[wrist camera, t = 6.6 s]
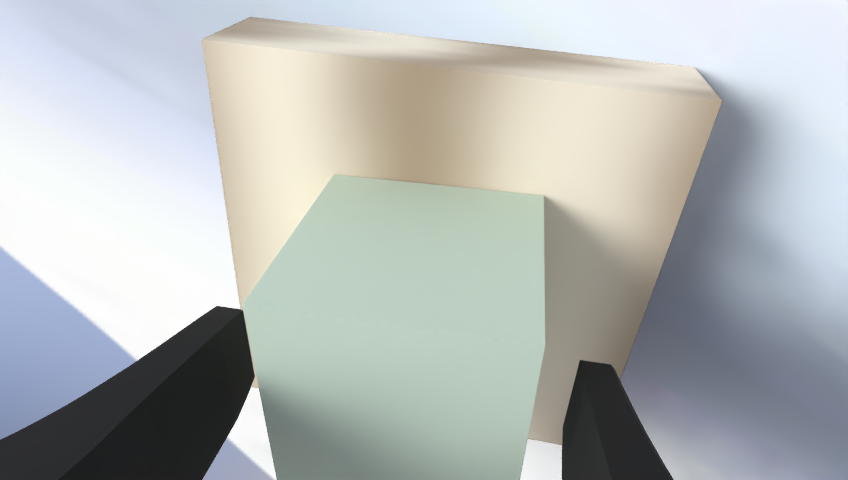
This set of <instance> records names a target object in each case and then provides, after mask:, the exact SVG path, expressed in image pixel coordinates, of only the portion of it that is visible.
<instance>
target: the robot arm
mask: <svg viewBox="0 0 848 480" xmlns="http://www.w3.org/2000/svg"><path fill="white" fill-rule="evenodd" d="M254 378H255V374H254V369H253V363H252V357H251V352H250V346H249V341H248V335H247V329H246V324H245V318H244V312H243V310H240V309H233V308H227V307H220V306H216V307H215V308H213V309H212V310H210V311H209V312H207V313H206V314H204V315H203V316H201V317H200V318H198V319H197V320H196V321H194V322H193V323H191V324H190V325H188V326H187V327H186V328H184V329H183V330H181V331H180V332H178V333H177V334H176V335H174V336H173V337H171V338H170V339H169V340H167V341H166V342H164V343H163V344H161V345H160V346H158V347H157V348H155V349H154V350H152V351H151V352H150V353H148V354H147V355H145V356H144V357H142V358H141V359H139V360H138V361H136V362H135V363H134V364H132V365H130V366H129V367H127V368H126V369H124V370H123V371H121V372H119V373H118V374H116V375H115V376H113V377H112V378H110V379H108V380H107V381H105V382H104V383H102V384H100V385H99V386H98V387H96V388H94V389H92V390H91V391H89V392H88V393H86V394H85V395H83V396H81V397H80V398H78V399H76V400H74V401H73V402H71V403H69V404H68V405H66V406H64V407H62V408H61V409H59V410H57V411H55V412H53V413H52V414H50V415H48V416H46V417H44V418H42V419H41V420H39V421H37V422H35V423H33V424H31V425H29V426H27V427H25V428H23V429H21V430H20V431H18V432H16V433H14V434H12V435H9V436H8V437H5V438H3V439H1V440H0V480H202V479H203V477H204V476H205V474H206V472H207V470H208V469H209V467H210V465H211V464H212V462H213V460H214V459H215V457H216V455H217V453H218V452H219V450H220V448H221V447H222V445H223V443H224V441H225V440H226V438H227V436H228V434H229V433H230V431H231V429H232V427H233V426H234V424H235V422H236V420H237V418H238V416H239V414H240V412H241V409H242V407H243V405H244V402H245V400H246V398H247V395H248V393H249V390H250V388H251V385H252V383H253V381H254ZM562 480H674V479H673V478H672V476H671V475H670V473H669V471H668V470H667V468H666V466H665V465H664V463H663V461H662V459H661V458H660V456H659V454H658V452H657V451H656V449H655V447H654V445H653V444H652V442H651V440H650V438H649V437H648V435H647V433H646V431H645V429H644V428H643V426H642V424H641V422H640V420H639V418H638V416H637V414H636V412H635V410H634V408H633V406H632V404H631V402H630V400H629V398H628V396H627V394H626V392H625V390H624V388H623V386H622V384H621V381H620V379H619V377H618V375H617V373H616V370H615V369H614V368H613V366H612V365H611V364H605V363H598V362H591V361H584V360H580V361H579V365H578V369H577V373H576V377H575V381H574V385H573V389H572V393H571V396H570V400H569V404H568V408H567V412H566V416H565V420H564V424H563V432H562Z"/></svg>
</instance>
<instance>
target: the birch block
mask: <svg viewBox="0 0 848 480" xmlns="http://www.w3.org/2000/svg"><path fill="white" fill-rule="evenodd" d="M202 45H203V52H204V59H205V66H206V73H207V79H208V86H209V93H210V100H211V107H212V114H213V121H214V128H215V135H216V142H217V149H218V156H219V163H220V170H221V177H222V184H223V191H224V198H225V205H226V212H227V219H228V226H229V233H230V240H231V247H232V254H233V261H234V268H235V275H236V282H237V289H238V296H239V303H240V310H243V305H242V304H243V303H244V302H245V300H246V299H247V297H248V296H249V294H250V293H251V292H252V290H253V289H254V287H255V286H256V284H257V283H258V282H259V280H260V279H261V277H262V276H263V274H264V273H265V272H266V270H267V269H268V267H269V266H270V264H271V263H272V262H273V260H274V259H275V257H276V256H277V255H278V253H279V252H280V250H281V249H282V247H283V246H284V245H285V243H286V242H287V240H288V239H289V237H290V236H291V235H292V233H293V232H294V230H295V229H296V227H297V226H298V225H299V223H300V222H301V220H302V219H303V217H304V216H305V215H306V213H307V212H308V210H309V209H310V208H311V206H312V205H313V203H314V202H315V200H316V199H317V198H318V196H319V195H320V193H321V192H322V190H323V189H324V188H325V186H326V185H327V183H328V182H329V180H330V179H331V178H332V176H333V175H334V174H335V175H345V176H354V177H364V178H374V179H384V180H394V181H404V182H414V183H424V184H434V185H444V186H454V187H464V188H474V189H484V190H494V191H504V192H514V193H524V194H534V195H544V269H545V349H544V354H543V360H542V365H541V370H540V375H539V381H538V386H537V391H536V397H535V402H534V407H533V412H532V418H531V423H530V428H529V434H528V439H533V440H538V441H543V442H549V443H554V444H559V445H562V432H563V424H564V420H565V416H566V412H567V408H568V404H569V400H570V396H571V393H572V389H573V385H574V381H575V377H576V373H577V369H578V365H579V361H580V360H584V361H591V362H598V363H605V364H611V365H612V366H613V368H614V369H615V370H616V373H617V375H618V377H619V379H621V376H622V374H623V371H624V368H625V365H626V363H627V360H628V357H629V354H630V352H631V349H632V346H633V344H634V341H635V338H636V335H637V333H638V330H639V327H640V324H641V322H642V319H643V316H644V314H645V311H646V308H647V305H648V303H649V300H650V297H651V294H652V292H653V289H654V286H655V283H656V281H657V278H658V275H659V273H660V270H661V267H662V264H663V262H664V259H665V256H666V253H667V251H668V248H669V245H670V242H671V240H672V237H673V234H674V232H675V229H676V226H677V223H678V221H679V218H680V215H681V212H682V210H683V207H684V204H685V202H686V199H687V196H688V193H689V191H690V188H691V185H692V182H693V180H694V177H695V174H696V171H697V169H698V166H699V163H700V161H701V158H702V155H703V152H704V150H705V147H706V144H707V141H708V139H709V136H710V133H711V130H712V128H713V125H714V122H715V120H716V117H717V114H718V111H719V109H720V106H721V103H722V99H721V98H720V97H719V96H718V95H717V94H716V92H715V91H714V90H713V89H712V88H711V86H710V85H709V84H708V83H707V82H706V80H705V79H704V78H703V77H702V76H701V74H700V73H699V72H698V71H697V70H696V68H695V67H690V66H681V65H672V64H664V63H655V62H646V61H637V60H628V59H619V58H610V57H601V56H592V55H583V54H575V53H566V52H557V51H548V50H539V49H530V48H521V47H512V46H503V45H494V44H486V43H477V42H468V41H459V40H450V39H441V38H432V37H423V36H414V35H406V34H397V33H388V32H379V31H370V30H361V29H352V28H343V27H334V26H325V25H317V24H308V23H299V22H290V21H281V20H272V19H263V18H254V17H249V18H247V19H245V20H243V21H240V22H238V23H236V24H234V25H232V26H230V27H227V28H225V29H223V30H221V31H219V32H217V33H214V34H212V35H210V36H208V37H206V38H203V39H202ZM243 312H244V310H243ZM244 318H245V315H244ZM245 324H246V320H245ZM246 329H247V325H246ZM247 335H248V330H247ZM248 341H249V346H250V352H251V357H252V363H253V369H254V374H255V378H254V381H253V383H252V385H251V386H252V387H255V388H259V386H258V381H257V376H256V371H255V366H254V361H253V355H252V350H251V345H250V340H249V335H248Z"/></svg>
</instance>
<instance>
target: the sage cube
mask: <svg viewBox="0 0 848 480" xmlns="http://www.w3.org/2000/svg"><path fill="white" fill-rule="evenodd" d="M242 305H243V310H244V315H245V320H246V325H247V330H248V335H249V340H250V345H251V350H252V355H253V361H254V366H255V371H256V376H257V381H258V386H259V391H260V396H261V401H262V406H263V411H264V416H265V421H266V427H267V432H268V437H269V442H270V447H271V452H272V457H273V462H274V467H275V472H276V477H277V480H520V476H521V471H522V465H523V460H524V455H525V450H526V444H527V439H528V434H529V428H530V423H531V418H532V412H533V407H534V402H535V397H536V391H537V386H538V381H539V375H540V370H541V365H542V360H543V354H544V349H545V269H544V195H534V194H524V193H514V192H504V191H494V190H484V189H474V188H464V187H454V186H444V185H434V184H424V183H414V182H404V181H394V180H384V179H374V178H364V177H354V176H345V175H335V174H334V175H333V176H332V178H331V179H330V180H329V182H328V183H327V185H326V186H325V188H324V189H323V190H322V192H321V193H320V195H319V196H318V198H317V199H316V200H315V202H314V203H313V205H312V206H311V208H310V209H309V210H308V212H307V213H306V215H305V216H304V217H303V219H302V220H301V222H300V223H299V225H298V226H297V227H296V229H295V230H294V232H293V233H292V235H291V236H290V237H289V239H288V240H287V242H286V243H285V245H284V246H283V247H282V249H281V250H280V252H279V253H278V255H277V256H276V257H275V259H274V260H273V262H272V263H271V264H270V266H269V267H268V269H267V270H266V272H265V273H264V274H263V276H262V277H261V279H260V280H259V282H258V283H257V284H256V286H255V287H254V289H253V290H252V292H251V293H250V294H249V296H248V297H247V299H246V300H245V302H244V303H243V304H242Z"/></svg>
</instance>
